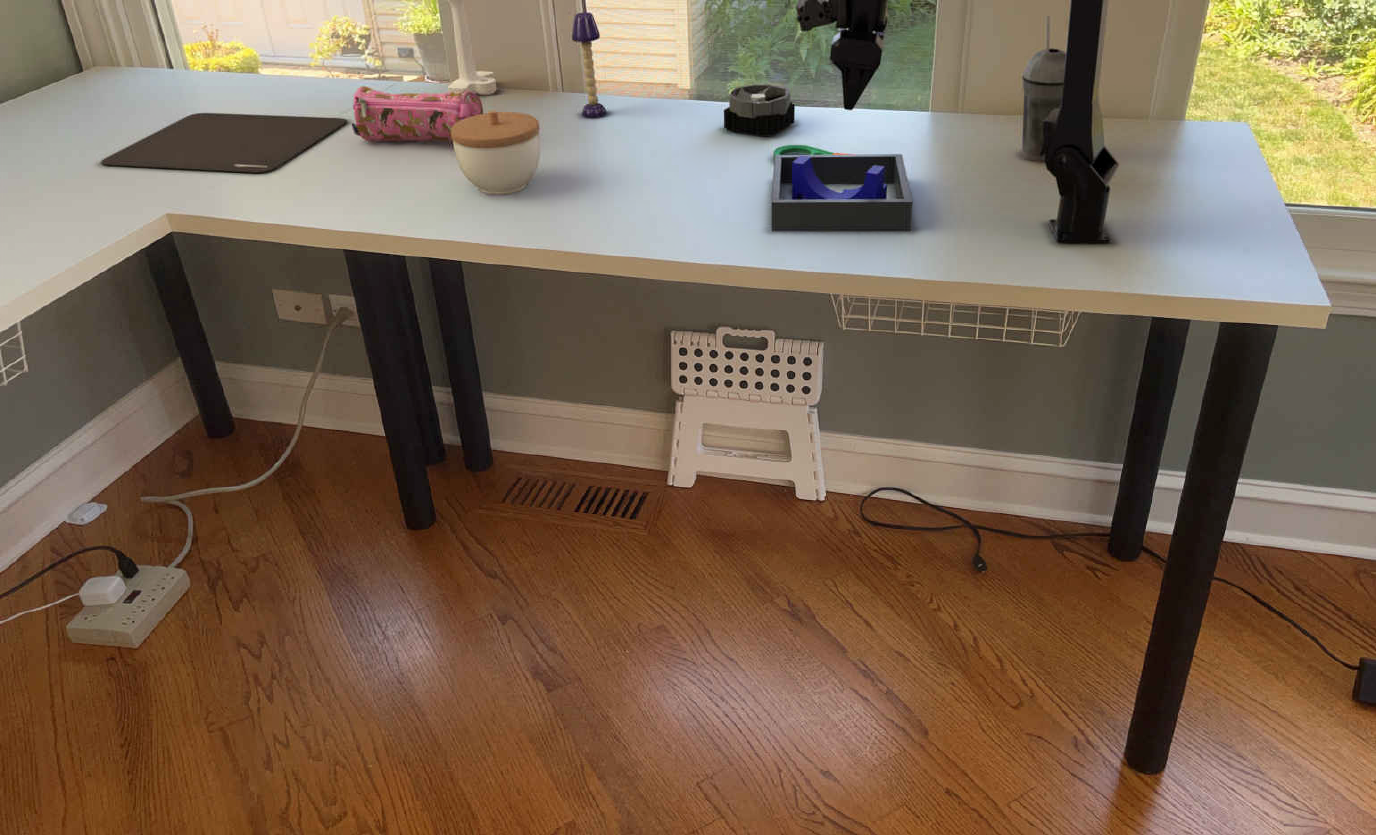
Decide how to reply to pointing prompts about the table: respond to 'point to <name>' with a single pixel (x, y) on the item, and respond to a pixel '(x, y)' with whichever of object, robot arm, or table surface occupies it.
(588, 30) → the toy lamp
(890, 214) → the dark grey square tray
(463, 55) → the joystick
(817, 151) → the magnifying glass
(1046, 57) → the beverage cup
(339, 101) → the table surface
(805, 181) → the blue u-shaped bracket
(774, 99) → the cpu cooler
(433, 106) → the pencil case
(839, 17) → the robot arm
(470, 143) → the lidded bowl
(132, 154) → the mouse pad
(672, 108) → the table surface
